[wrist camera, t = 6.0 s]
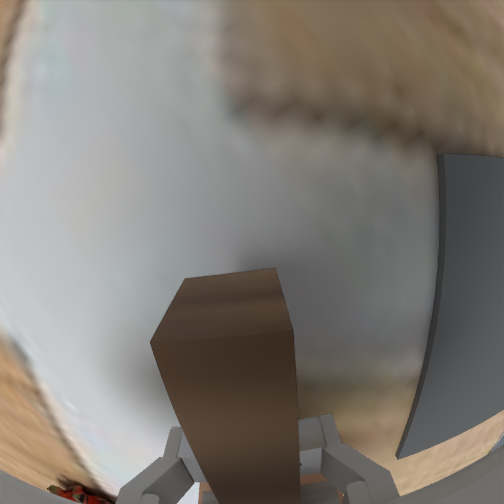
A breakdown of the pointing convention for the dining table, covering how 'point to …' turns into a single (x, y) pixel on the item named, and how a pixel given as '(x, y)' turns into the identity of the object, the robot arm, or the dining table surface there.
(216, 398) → the wooden post on base
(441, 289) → the mat
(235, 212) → the dining table surface
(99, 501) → the dragon fruit
